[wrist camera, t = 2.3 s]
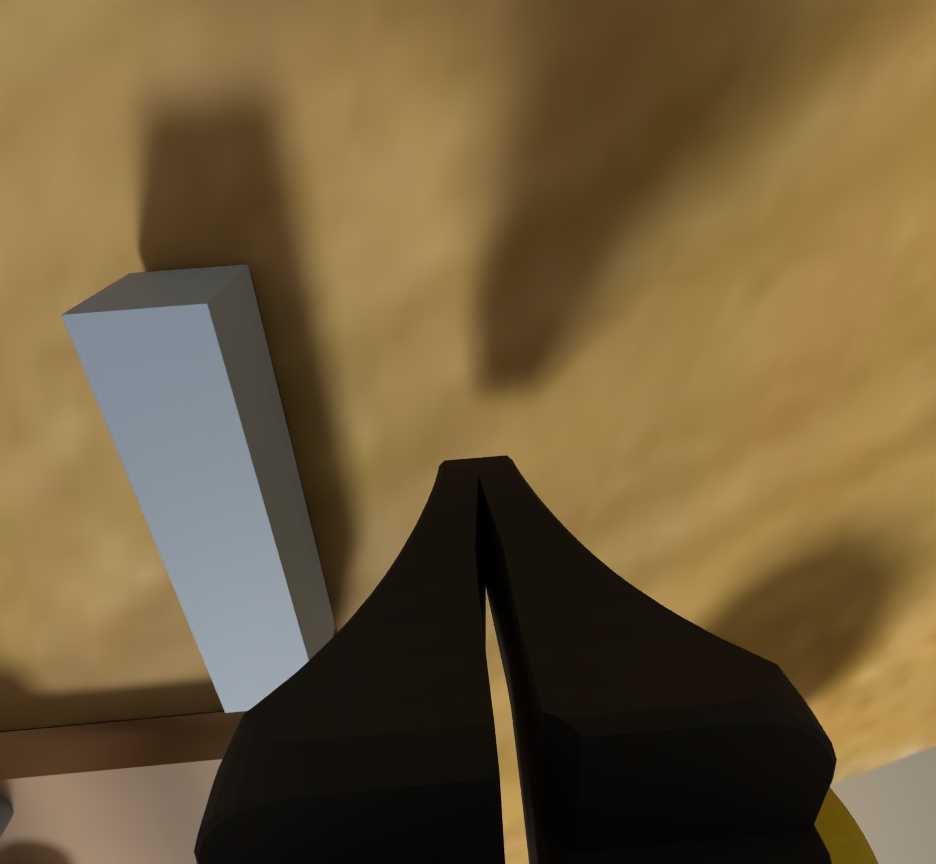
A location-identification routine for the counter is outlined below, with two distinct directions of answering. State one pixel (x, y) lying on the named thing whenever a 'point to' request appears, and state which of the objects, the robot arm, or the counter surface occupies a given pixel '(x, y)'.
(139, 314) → the hinged leg
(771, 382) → the counter surface
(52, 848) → the board
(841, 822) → the lemon
